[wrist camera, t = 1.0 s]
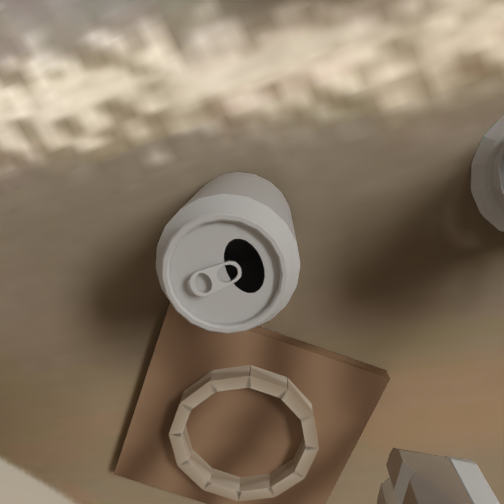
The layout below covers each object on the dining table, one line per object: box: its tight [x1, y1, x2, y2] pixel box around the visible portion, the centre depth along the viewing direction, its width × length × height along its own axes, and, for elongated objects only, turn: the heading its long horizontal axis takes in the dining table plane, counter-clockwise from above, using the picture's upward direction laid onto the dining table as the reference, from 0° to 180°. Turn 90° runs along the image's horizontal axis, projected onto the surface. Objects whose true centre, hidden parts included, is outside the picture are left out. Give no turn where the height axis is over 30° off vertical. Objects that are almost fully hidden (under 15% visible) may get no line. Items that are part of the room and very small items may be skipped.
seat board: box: [114, 303, 390, 504], centre depth 36 cm, size 18×17×3 cm
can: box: [156, 172, 300, 334], centre depth 27 cm, size 8×8×12 cm
